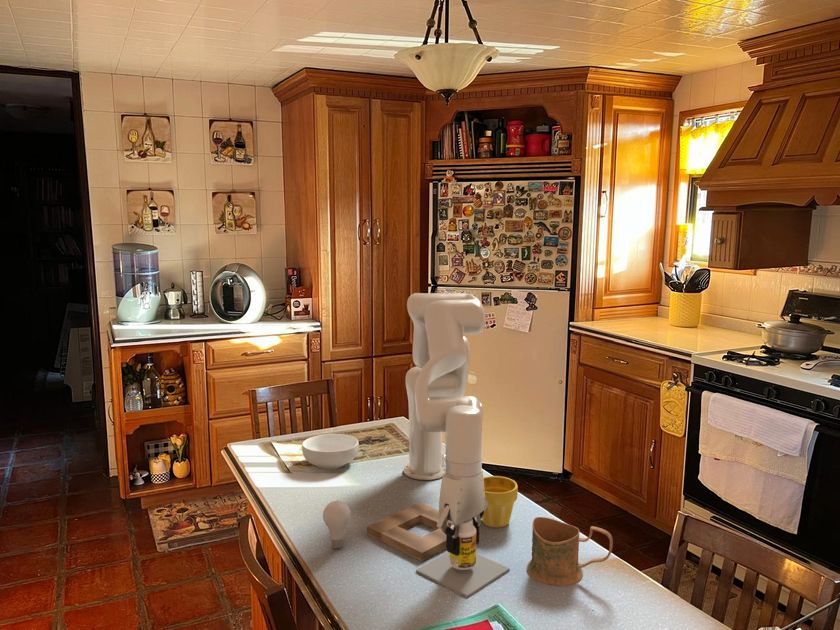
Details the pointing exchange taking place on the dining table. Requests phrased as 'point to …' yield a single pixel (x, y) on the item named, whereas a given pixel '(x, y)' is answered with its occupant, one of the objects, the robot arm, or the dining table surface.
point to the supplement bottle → (465, 547)
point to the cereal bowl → (330, 450)
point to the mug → (558, 552)
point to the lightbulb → (336, 521)
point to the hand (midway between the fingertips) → (462, 546)
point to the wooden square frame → (405, 541)
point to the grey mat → (463, 574)
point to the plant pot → (499, 500)
